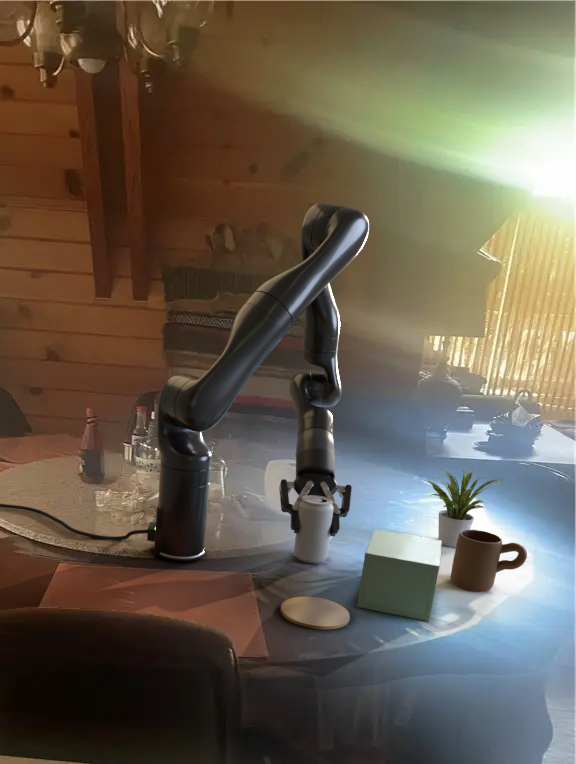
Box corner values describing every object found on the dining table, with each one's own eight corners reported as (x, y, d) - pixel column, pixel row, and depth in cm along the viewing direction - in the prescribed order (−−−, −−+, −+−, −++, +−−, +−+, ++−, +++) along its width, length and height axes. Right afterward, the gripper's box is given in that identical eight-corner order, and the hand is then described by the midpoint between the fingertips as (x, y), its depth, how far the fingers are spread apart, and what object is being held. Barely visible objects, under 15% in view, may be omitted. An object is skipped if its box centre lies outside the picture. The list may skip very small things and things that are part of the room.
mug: (517, 585, 140) (527, 537, 137) (520, 600, 133) (531, 550, 130) (449, 573, 143) (458, 526, 140) (449, 587, 136) (458, 538, 133)
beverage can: (326, 566, 142) (334, 505, 138) (291, 562, 143) (299, 501, 139) (327, 555, 148) (335, 496, 144) (294, 550, 149) (301, 492, 145)
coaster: (283, 626, 116) (283, 623, 116) (278, 597, 127) (278, 593, 126) (354, 632, 116) (355, 629, 116) (343, 602, 126) (344, 599, 126)
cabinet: (366, 578, 138) (374, 528, 135) (432, 591, 134) (441, 540, 131) (356, 606, 125) (365, 552, 122) (429, 621, 122) (439, 566, 119)
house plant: (475, 533, 168) (490, 462, 163) (502, 556, 155) (518, 479, 150) (412, 529, 167) (425, 458, 162) (433, 552, 154) (448, 474, 149)
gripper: (281, 443, 146) (279, 521, 138) (355, 449, 146) (357, 527, 138) (276, 463, 153) (274, 538, 145) (347, 469, 153) (349, 544, 145)
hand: (315, 532), depth 142 cm, fingers closed on beverage can, 6 cm apart
